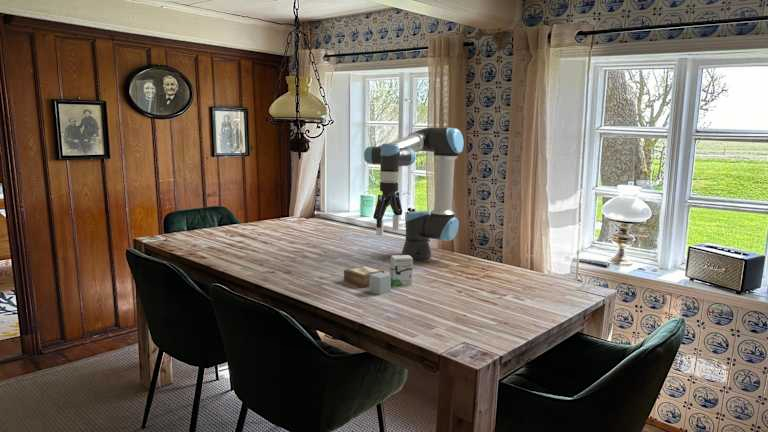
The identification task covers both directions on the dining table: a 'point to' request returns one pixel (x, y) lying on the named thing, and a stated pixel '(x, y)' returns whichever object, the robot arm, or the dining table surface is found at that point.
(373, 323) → the dining table surface
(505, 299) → the dining table surface
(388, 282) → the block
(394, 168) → the robot arm
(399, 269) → the ink box
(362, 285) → the pedestal
